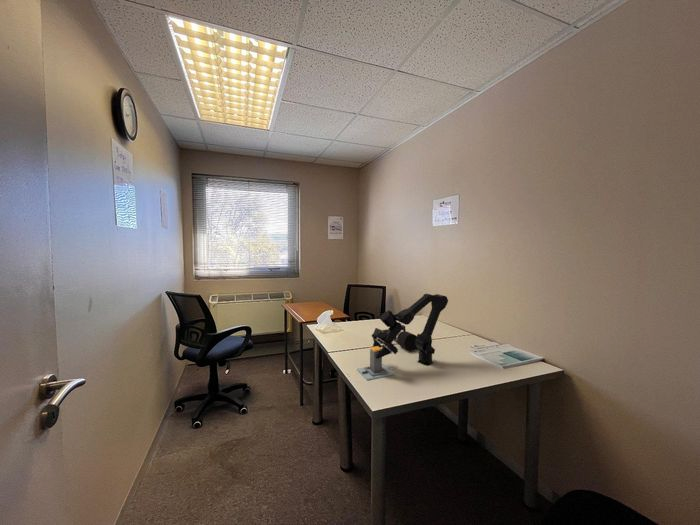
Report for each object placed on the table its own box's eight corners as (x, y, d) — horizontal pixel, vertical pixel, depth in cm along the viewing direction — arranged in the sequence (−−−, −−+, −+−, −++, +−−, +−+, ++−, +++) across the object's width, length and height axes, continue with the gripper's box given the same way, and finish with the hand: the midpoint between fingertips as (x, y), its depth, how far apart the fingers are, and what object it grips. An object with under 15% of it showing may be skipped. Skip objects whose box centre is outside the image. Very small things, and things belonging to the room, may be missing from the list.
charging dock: (383, 364, 149) (383, 362, 149) (395, 374, 138) (395, 371, 138) (356, 369, 143) (356, 366, 143) (367, 380, 132) (367, 377, 132)
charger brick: (377, 368, 143) (377, 346, 143) (381, 372, 139) (382, 349, 139) (370, 370, 142) (370, 347, 141) (374, 373, 138) (374, 350, 137)
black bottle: (391, 340, 200) (397, 328, 202) (415, 353, 168) (421, 338, 169) (380, 335, 198) (385, 322, 200) (401, 347, 165) (408, 331, 167)
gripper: (374, 318, 149) (356, 340, 145) (392, 327, 132) (372, 353, 128) (387, 330, 153) (369, 353, 149) (406, 341, 135) (386, 367, 132)
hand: (373, 356), depth 139 cm, fingers open, 6 cm apart
